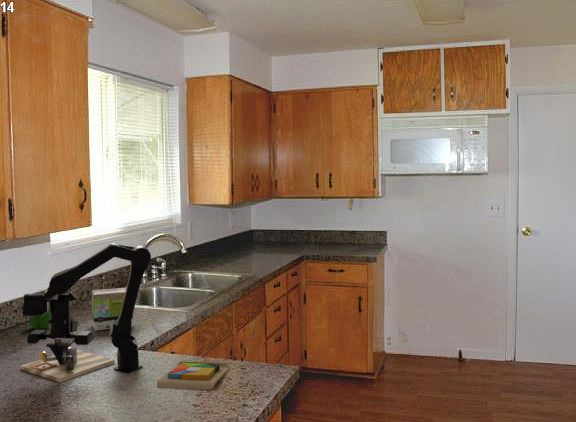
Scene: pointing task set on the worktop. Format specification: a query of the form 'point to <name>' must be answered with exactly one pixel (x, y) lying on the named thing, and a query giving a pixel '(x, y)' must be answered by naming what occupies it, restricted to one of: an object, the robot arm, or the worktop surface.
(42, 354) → the bell crank
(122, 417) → the worktop surface
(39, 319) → the bell pepper
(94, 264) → the robot arm
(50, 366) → the level window
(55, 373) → the board
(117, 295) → the tea box
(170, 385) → the wooden puzzle
